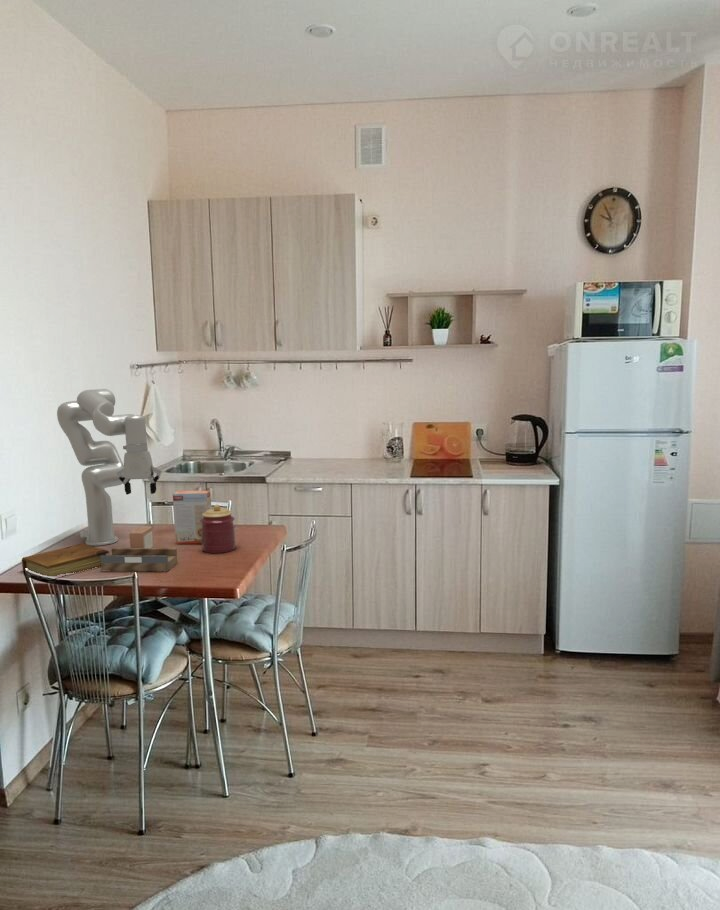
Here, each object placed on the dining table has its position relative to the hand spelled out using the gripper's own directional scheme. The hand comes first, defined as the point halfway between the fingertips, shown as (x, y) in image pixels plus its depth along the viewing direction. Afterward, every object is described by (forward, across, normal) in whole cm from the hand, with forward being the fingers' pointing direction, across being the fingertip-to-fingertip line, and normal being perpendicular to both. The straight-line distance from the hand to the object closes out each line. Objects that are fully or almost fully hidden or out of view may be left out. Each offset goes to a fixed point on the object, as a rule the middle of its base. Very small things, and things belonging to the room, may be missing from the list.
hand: (140, 493), depth 271 cm
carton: (+24, -1, -1) cm, 24 cm away
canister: (+24, +26, +9) cm, 37 cm away
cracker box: (+24, +13, +18) cm, 33 cm away
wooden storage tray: (+24, +4, -16) cm, 29 cm away
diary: (+24, -23, -17) cm, 37 cm away
